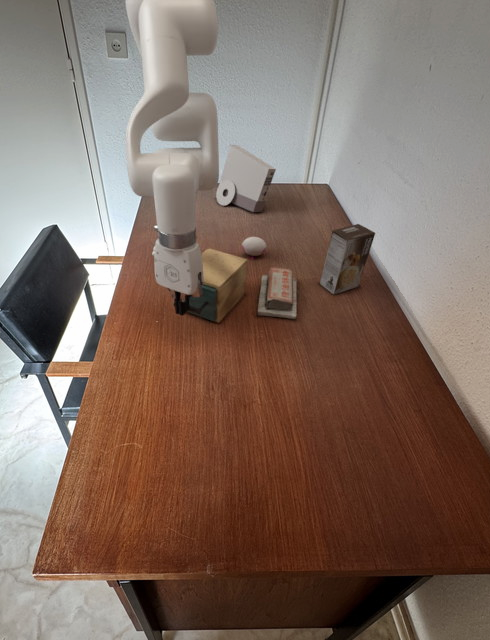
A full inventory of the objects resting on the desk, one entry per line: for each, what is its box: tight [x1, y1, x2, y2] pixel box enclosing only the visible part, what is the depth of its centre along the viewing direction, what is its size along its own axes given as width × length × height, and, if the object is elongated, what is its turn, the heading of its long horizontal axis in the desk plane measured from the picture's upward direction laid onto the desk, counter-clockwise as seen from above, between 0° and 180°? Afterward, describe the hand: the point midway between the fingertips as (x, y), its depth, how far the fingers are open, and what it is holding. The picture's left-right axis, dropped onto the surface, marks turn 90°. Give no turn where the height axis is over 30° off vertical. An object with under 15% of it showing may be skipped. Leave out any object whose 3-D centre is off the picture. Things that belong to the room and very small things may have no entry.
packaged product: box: [257, 266, 297, 320], centre depth 99 cm, size 18×5×10 cm
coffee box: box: [319, 223, 376, 295], centre depth 100 cm, size 9×6×16 cm
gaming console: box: [215, 144, 277, 213], centre depth 138 cm, size 23×8×20 cm, turn 43°
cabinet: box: [201, 248, 248, 324], centre depth 96 cm, size 15×12×11 cm
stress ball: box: [241, 236, 267, 260], centre depth 117 cm, size 8×8×7 cm
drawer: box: [173, 284, 217, 322], centre depth 93 cm, size 18×10×9 cm, turn 150°
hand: (182, 311), depth 86 cm, fingers closed
